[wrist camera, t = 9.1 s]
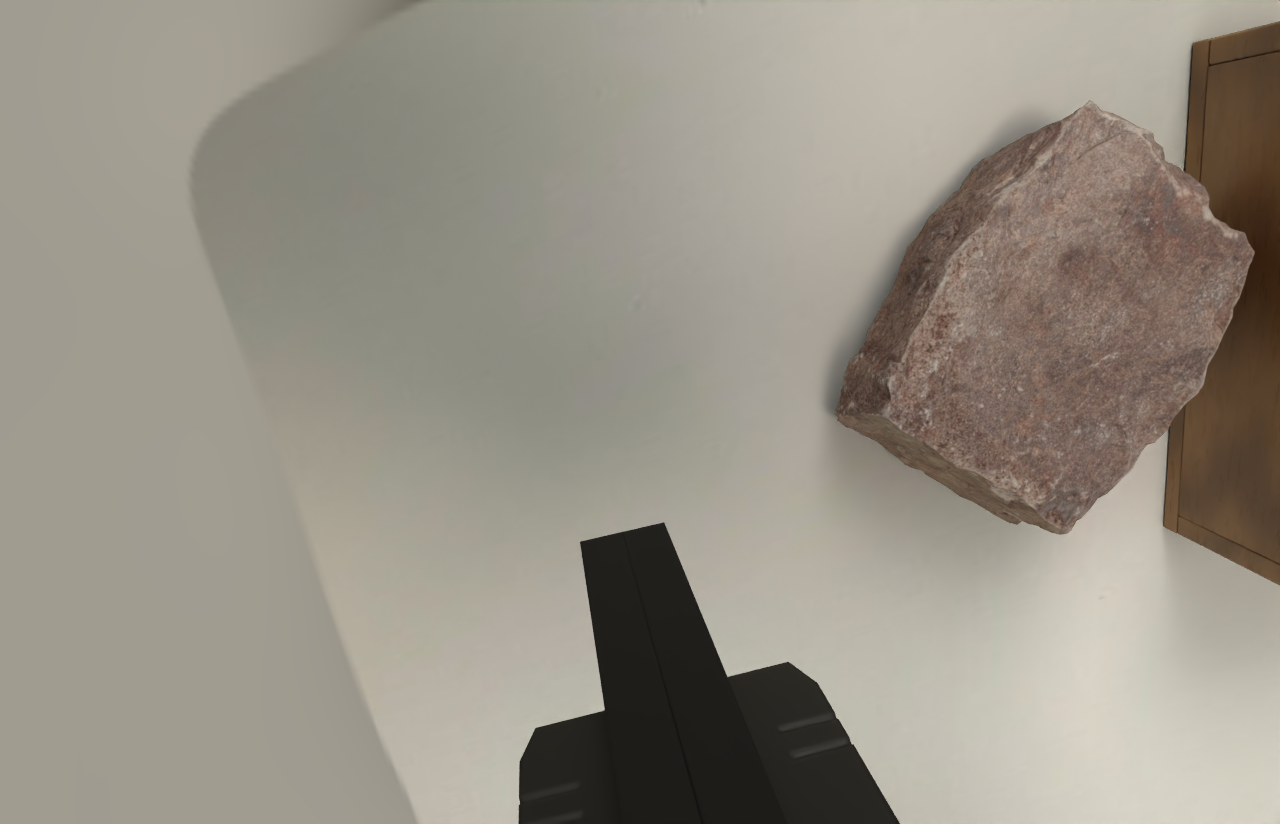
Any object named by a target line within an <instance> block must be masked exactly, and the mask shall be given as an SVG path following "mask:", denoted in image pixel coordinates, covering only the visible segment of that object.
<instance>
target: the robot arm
mask: <svg viewBox="0 0 1280 824" xmlns="http://www.w3.org/2000/svg"><path fill="white" fill-rule="evenodd" d="M580 545H581V551H582V558H583V565H584V572H585V578H586V585H587V592H588V599H589V605H590V612H591V619H592V626H593V632H594V639H595V646H596V653H597V659H598V666H599V673H600V680H601V686H602V693H603V700H604V707H605V711H602V712H598V713H594V714H590V715H586V716H582V717H578V718H574V719H570V720H566V721H562V722H558V723H554V724H550V725H546V726H542V727H538V728H535V730H534V732H533V735H532V737H531V739H530V741H529V743H528V745H527V747H526V749H525V752H524V754H523V756H522V758H521V760H520V772H519V799H520V805H519V824H900V823H899V821H898V820H897V818H896V816H895V815H894V813H893V811H892V809H891V808H890V806H889V804H888V803H887V801H886V799H885V798H884V796H883V794H882V792H881V791H880V789H879V787H878V786H877V784H876V782H875V780H874V779H873V777H872V775H871V774H870V772H869V770H868V769H867V767H866V765H865V763H864V762H863V760H862V758H861V757H860V755H859V753H858V751H857V750H856V748H855V746H854V745H853V744H851V742H850V738H849V736H848V734H847V733H846V731H845V729H844V728H843V726H842V724H841V722H840V721H839V719H837V718H836V716H835V712H834V711H833V709H832V707H831V705H830V704H829V702H828V700H827V699H826V697H825V695H824V694H823V692H822V690H821V688H820V687H819V685H818V683H817V682H815V681H814V680H812V679H811V678H810V677H808V676H807V675H806V674H804V673H803V672H802V671H800V670H799V669H797V668H796V667H795V666H793V665H792V664H791V663H789V662H786V663H782V664H778V665H774V666H770V667H766V668H762V669H758V670H754V671H750V672H746V673H742V674H738V675H734V676H730V677H727V675H726V673H725V670H724V668H723V665H722V663H721V660H720V658H719V656H718V653H717V651H716V648H715V646H714V643H713V641H712V638H711V636H710V634H709V631H708V629H707V626H706V624H705V621H704V619H703V616H702V614H701V612H700V609H699V607H698V604H697V602H696V599H695V597H694V594H693V592H692V590H691V587H690V585H689V582H688V580H687V577H686V575H685V572H684V570H683V567H682V565H681V563H680V560H679V558H678V555H677V553H676V550H675V548H674V545H673V543H672V541H671V538H670V536H669V533H668V531H667V528H666V526H665V523H660V524H655V525H651V526H647V527H642V528H638V529H634V530H629V531H625V532H620V533H616V534H612V535H607V536H603V537H599V538H594V539H590V540H586V541H581V542H580Z"/></svg>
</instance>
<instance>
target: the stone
mask: <svg viewBox="0 0 1280 824" xmlns="http://www.w3.org/2000/svg"><path fill="white" fill-rule="evenodd" d="M1209 200H1210V199H1209V195H1208V193H1207V191H1206V189H1205V187H1204V186H1203V185H1201V184H1200V183H1199V182H1198V181H1197V180H1195V179H1194V178H1193V177H1192V176H1191V175H1189V174H1188V173H1186V172H1183V171H1181V169H1180V168H1179V167H1177V166H1175V165H1173V164H1170V163H1168V162H1166V161H1165V160H1164V152H1163V148H1162V147H1161V146H1160V145H1159V144H1157V143H1156V142H1155V141H1154V136H1153V133H1151V132H1149V131H1147V130H1145V129H1142V128H1140V127H1138V126H1136V125H1134V124H1132V123H1130V122H1128V121H1127V120H1125V119H1123V118H1121V117H1119V116H1117V115H1115V114H1113V113H1109V112H1105V111H1101V110H1100V109H1099V108H1098V107H1097V105H1096V104H1095V103H1093V102H1092V101H1090V100H1089V101H1088V102H1087V103H1086V104H1085V105H1084V106H1083V107H1082V108H1080V109H1078V110H1076V111H1075V112H1074V113H1073V114H1071V115H1070V116H1068V117H1066V118H1064V119H1063V120H1061V121H1058V122H1055V123H1052V124H1049V125H1047V126H1045V127H1043V128H1041V129H1040V130H1038V131H1036V132H1034V133H1031V134H1027V135H1026V136H1024V137H1022V138H1021V139H1019V140H1017V141H1015V142H1013V143H1012V144H1010V145H1008V146H1006V147H1004V148H1002V149H1001V150H1000V151H998V152H997V153H996V154H994V155H993V156H992V157H990V158H986V159H983V160H982V161H980V162H979V163H978V164H977V165H976V166H975V167H974V168H973V169H972V170H971V172H970V173H969V175H968V176H967V178H966V179H965V181H964V183H963V184H962V186H961V188H960V190H958V191H957V192H955V193H953V194H952V195H951V196H950V197H949V198H948V199H947V201H946V202H945V203H943V204H942V205H941V206H940V207H939V208H938V209H937V210H936V211H935V212H934V213H933V214H932V215H931V216H930V217H929V219H928V221H927V223H926V224H925V226H924V228H923V230H922V231H921V232H920V234H919V235H918V237H917V238H916V240H915V241H914V242H912V243H911V244H910V245H909V246H908V247H907V250H906V253H905V256H904V259H903V261H902V263H901V267H900V270H899V273H898V276H897V279H896V281H895V284H894V287H893V290H892V292H891V293H890V294H889V296H888V297H887V298H886V300H885V301H884V303H883V305H882V306H881V308H880V310H879V311H878V313H877V316H876V318H875V320H874V322H873V324H872V325H871V327H870V328H869V330H868V332H867V339H866V342H865V344H864V347H863V348H862V349H861V350H860V352H859V354H858V355H856V356H854V357H852V358H851V359H850V361H849V364H848V366H847V369H846V372H845V374H844V381H845V384H844V386H843V388H842V390H841V395H840V399H839V402H838V405H837V408H836V411H835V415H837V416H838V419H837V420H838V421H839V422H840V423H842V424H843V425H844V426H846V427H849V428H853V429H854V430H856V431H858V432H859V433H861V434H863V435H865V436H867V437H869V438H871V439H874V440H876V441H878V442H880V443H881V444H882V445H883V446H884V447H885V448H886V449H888V450H889V451H890V452H891V453H893V454H894V455H895V456H897V457H898V458H899V459H900V460H901V461H902V462H903V463H904V464H905V465H908V466H910V467H912V468H916V469H920V470H923V471H924V472H925V474H926V475H928V476H930V477H932V478H934V479H935V480H937V481H939V482H940V483H942V484H944V485H945V486H947V487H948V488H950V489H951V490H952V491H954V492H955V493H956V494H958V495H959V496H961V497H963V498H966V499H968V500H970V501H973V502H974V503H976V504H978V505H979V506H981V507H983V508H984V509H986V510H988V511H989V512H991V513H993V514H994V515H996V516H998V517H1000V518H1001V519H1003V520H1005V521H1007V522H1009V523H1013V524H1016V525H1017V524H1019V523H1020V522H1021V521H1024V522H1026V523H1028V524H1033V525H1037V526H1039V527H1040V528H1043V529H1045V530H1047V531H1049V532H1052V533H1056V534H1066V533H1069V532H1070V531H1071V529H1072V528H1073V526H1074V524H1075V522H1076V521H1077V520H1079V519H1081V518H1082V517H1083V516H1084V515H1085V514H1086V513H1087V511H1088V510H1089V509H1090V508H1091V507H1092V505H1093V504H1094V503H1095V501H1096V500H1097V499H1098V498H1099V497H1101V496H1103V495H1105V494H1107V493H1108V492H1109V491H1110V490H1111V489H1112V488H1113V487H1114V486H1115V485H1116V484H1117V483H1118V482H1119V481H1120V480H1121V479H1122V478H1123V477H1124V476H1125V475H1126V474H1127V473H1128V472H1130V471H1131V470H1132V469H1133V467H1134V464H1135V462H1136V460H1137V458H1138V457H1139V455H1140V453H1141V451H1142V450H1143V449H1144V448H1145V447H1146V445H1148V444H1151V443H1154V442H1155V441H1156V440H1157V439H1158V438H1159V437H1160V436H1161V435H1162V434H1163V433H1164V432H1165V431H1166V430H1167V429H1168V428H1169V426H1170V424H1171V422H1172V420H1173V419H1174V417H1175V416H1176V415H1177V414H1178V412H1179V411H1180V410H1181V409H1182V407H1183V406H1184V405H1185V404H1186V403H1187V402H1188V401H1189V400H1191V399H1192V398H1193V397H1194V396H1195V395H1197V393H1198V392H1199V391H1200V389H1201V388H1202V386H1203V385H1204V380H1205V376H1206V371H1207V366H1208V364H1209V362H1210V361H1211V359H1212V357H1213V356H1214V354H1215V352H1216V351H1217V349H1218V346H1219V344H1220V342H1221V339H1222V337H1223V335H1224V333H1225V331H1226V329H1227V327H1228V325H1229V323H1230V321H1231V319H1232V316H1233V308H1234V306H1235V304H1236V303H1237V301H1238V299H1239V298H1240V295H1241V292H1242V289H1243V286H1244V283H1245V280H1246V276H1247V272H1248V268H1249V266H1250V264H1251V262H1252V260H1253V257H1254V253H1255V251H1254V250H1253V249H1252V247H1251V246H1250V244H1249V243H1248V240H1247V237H1246V235H1245V233H1244V232H1241V231H1238V230H1234V229H1231V228H1230V227H1229V226H1228V225H1227V224H1226V223H1224V222H1221V221H1219V220H1218V219H1216V218H1215V217H1214V216H1213V214H1212V212H1211V210H1210V208H1209Z"/></svg>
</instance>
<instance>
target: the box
mask: <svg viewBox="0 0 1280 824" xmlns="http://www.w3.org/2000/svg"><path fill="white" fill-rule="evenodd" d="M1185 172H1186V173H1188V174H1189V175H1191V176H1192V177H1193V178H1194V179H1195V180H1197V181H1198V182H1199V183H1200V184H1201V185H1203V186H1204V187H1205V189H1206V191H1207V193H1208V195H1209V199H1210V200H1209V208H1210V210H1211V212H1212V214H1213V216H1214V217H1215V218H1216V219H1218V220H1219V221H1221V222H1224V223H1226V224H1227V225H1228V226H1229V227H1230V228H1231V229H1234V230H1238V231H1241V232H1244V233H1245V235H1246V237H1247V240H1248V243H1249V244H1250V246H1251V247H1252V249H1253V250H1254V251H1255V253H1254V257H1253V260H1252V262H1251V264H1250V266H1249V268H1248V272H1247V276H1246V280H1245V283H1244V286H1243V289H1242V292H1241V295H1240V298H1239V299H1238V301H1237V303H1236V304H1235V306H1234V308H1233V316H1232V319H1231V321H1230V323H1229V325H1228V327H1227V329H1226V331H1225V333H1224V335H1223V337H1222V339H1221V342H1220V344H1219V346H1218V349H1217V351H1216V352H1215V354H1214V356H1213V357H1212V359H1211V361H1210V362H1209V364H1208V366H1207V371H1206V376H1205V380H1204V385H1203V386H1202V388H1201V389H1200V391H1199V392H1198V393H1197V395H1195V396H1194V397H1193V398H1192V399H1191V400H1189V401H1188V402H1187V403H1186V404H1185V405H1184V406H1183V407H1182V409H1181V410H1180V411H1179V412H1178V414H1177V415H1176V416H1175V417H1174V419H1173V420H1172V422H1171V424H1170V435H1169V452H1168V469H1167V485H1166V502H1165V518H1164V527H1166V528H1168V529H1170V530H1171V531H1173V532H1175V533H1178V534H1180V535H1182V536H1184V537H1186V538H1188V539H1190V540H1192V541H1194V542H1196V543H1198V544H1200V545H1202V546H1204V547H1206V548H1208V549H1209V550H1211V551H1213V552H1215V553H1217V554H1219V555H1221V556H1223V557H1225V558H1227V559H1229V560H1231V561H1233V562H1235V563H1237V564H1239V565H1241V566H1243V567H1245V568H1247V569H1249V570H1251V571H1253V572H1255V573H1257V574H1259V575H1261V576H1263V577H1264V578H1266V579H1268V580H1270V581H1272V582H1274V583H1276V584H1278V585H1280V21H1279V22H1275V23H1271V24H1267V25H1263V26H1259V27H1255V28H1251V29H1247V30H1243V31H1239V32H1235V33H1231V34H1227V35H1223V36H1219V37H1215V38H1211V39H1206V40H1202V41H1198V42H1195V43H1193V54H1192V70H1191V87H1190V104H1189V120H1188V137H1187V153H1186V170H1185Z"/></svg>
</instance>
